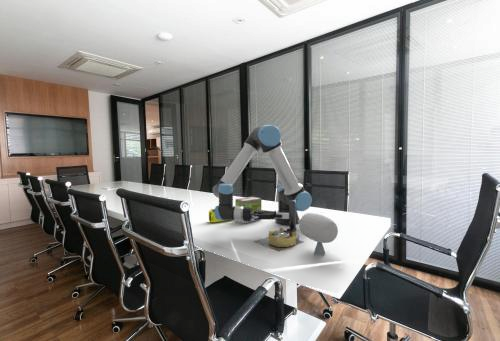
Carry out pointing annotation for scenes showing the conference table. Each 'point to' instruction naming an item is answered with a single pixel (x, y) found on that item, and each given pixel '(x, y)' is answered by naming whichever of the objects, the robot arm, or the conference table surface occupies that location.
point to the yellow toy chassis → (212, 217)
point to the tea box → (249, 204)
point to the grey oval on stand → (318, 230)
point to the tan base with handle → (283, 240)
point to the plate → (266, 243)
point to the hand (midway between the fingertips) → (288, 215)
